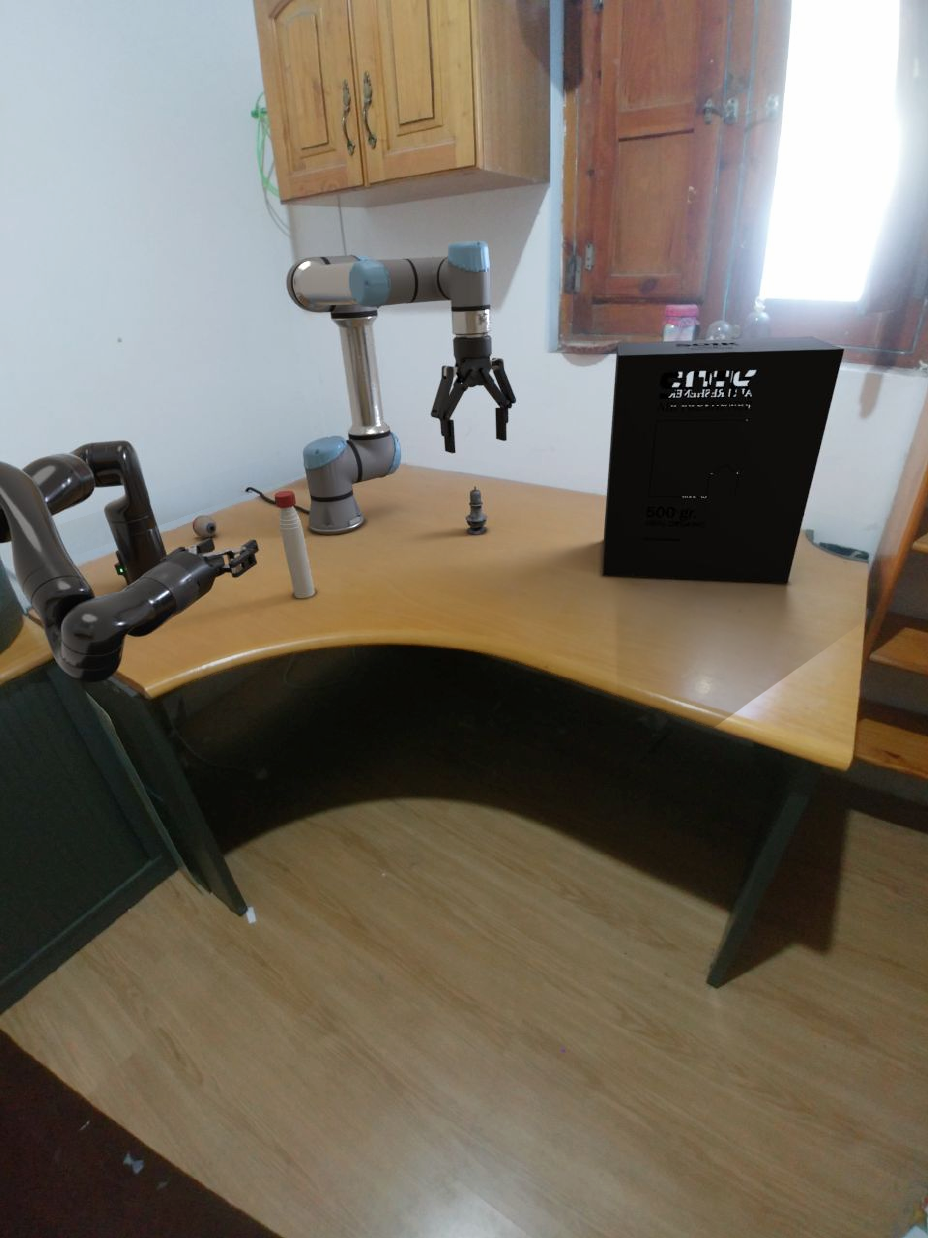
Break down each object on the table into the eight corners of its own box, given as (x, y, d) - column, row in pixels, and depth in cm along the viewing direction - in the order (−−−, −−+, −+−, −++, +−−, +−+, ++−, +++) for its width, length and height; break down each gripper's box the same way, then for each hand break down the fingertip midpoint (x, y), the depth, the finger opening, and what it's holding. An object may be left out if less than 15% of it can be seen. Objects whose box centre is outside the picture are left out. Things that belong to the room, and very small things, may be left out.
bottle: (306, 599, 131) (285, 500, 120) (290, 596, 133) (268, 497, 121) (319, 591, 134) (300, 493, 123) (303, 587, 136) (283, 491, 125)
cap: (287, 509, 121) (285, 497, 120) (272, 507, 123) (270, 495, 121) (300, 502, 124) (298, 491, 123) (285, 500, 126) (282, 489, 124)
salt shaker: (485, 534, 157) (484, 490, 151) (463, 534, 158) (461, 489, 152) (489, 526, 162) (488, 482, 156) (468, 525, 163) (466, 482, 157)
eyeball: (206, 542, 163) (200, 521, 160) (191, 538, 166) (185, 518, 163) (224, 534, 167) (218, 514, 164) (209, 531, 170) (203, 510, 167)
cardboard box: (766, 545, 143) (811, 336, 120) (787, 583, 126) (844, 348, 103) (603, 539, 150) (617, 342, 128) (602, 575, 133) (618, 355, 111)
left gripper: (142, 604, 94) (204, 562, 108) (222, 609, 91) (275, 565, 105) (126, 561, 91) (192, 522, 104) (208, 564, 87) (265, 524, 101)
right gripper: (429, 342, 108) (437, 460, 118) (533, 329, 120) (532, 437, 131) (407, 340, 113) (417, 454, 124) (508, 328, 125) (510, 432, 136)
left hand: (233, 544), depth 104 cm, fingers open, 8 cm apart
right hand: (476, 445), depth 127 cm, fingers open, 13 cm apart
